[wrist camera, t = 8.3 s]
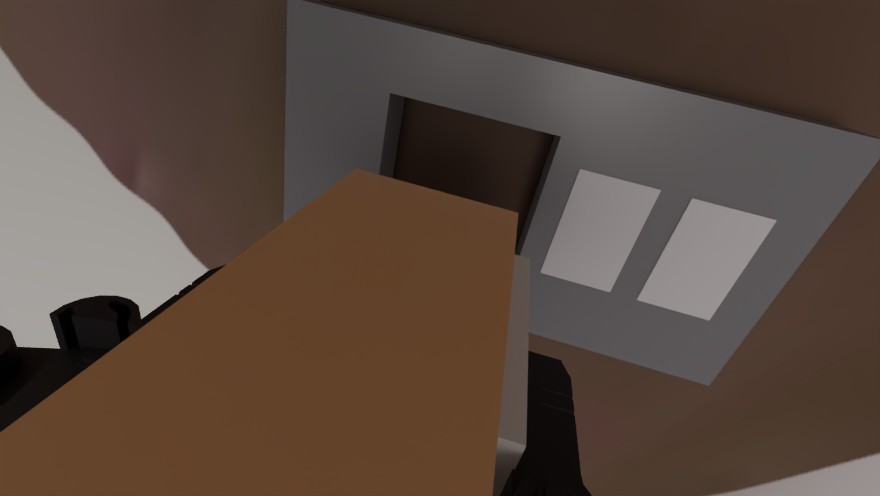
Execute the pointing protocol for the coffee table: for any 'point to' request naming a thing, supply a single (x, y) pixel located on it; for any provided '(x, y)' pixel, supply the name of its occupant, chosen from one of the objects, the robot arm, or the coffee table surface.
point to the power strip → (590, 179)
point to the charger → (302, 365)
